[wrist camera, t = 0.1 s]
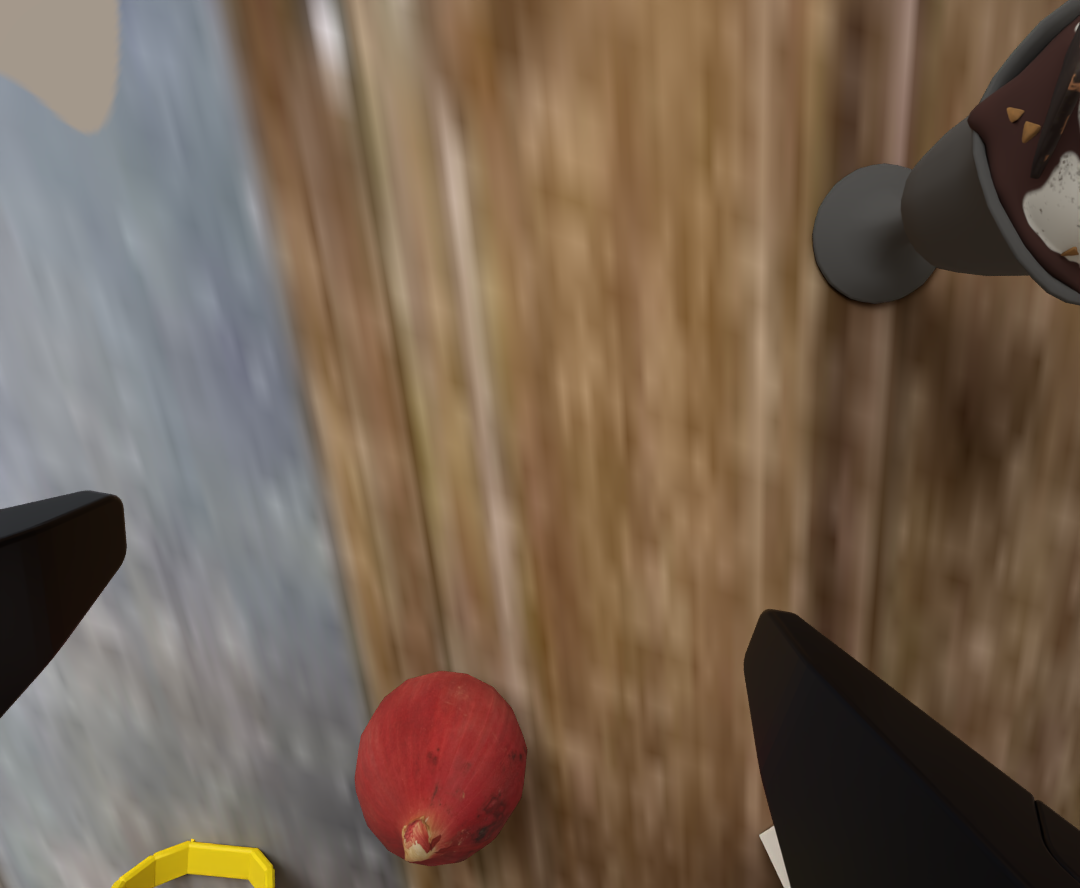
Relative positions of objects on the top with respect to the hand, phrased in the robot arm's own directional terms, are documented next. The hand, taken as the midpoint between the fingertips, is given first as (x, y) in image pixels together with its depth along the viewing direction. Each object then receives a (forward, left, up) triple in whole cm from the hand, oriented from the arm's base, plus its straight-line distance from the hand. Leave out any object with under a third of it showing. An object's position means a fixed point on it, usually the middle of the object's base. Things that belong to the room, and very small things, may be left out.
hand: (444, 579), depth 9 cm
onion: (-8, -7, -16) cm, 19 cm away
